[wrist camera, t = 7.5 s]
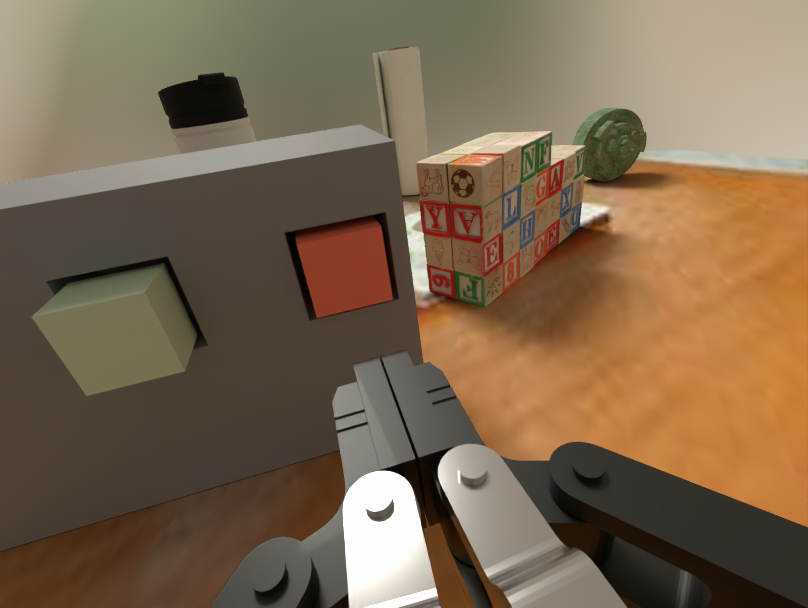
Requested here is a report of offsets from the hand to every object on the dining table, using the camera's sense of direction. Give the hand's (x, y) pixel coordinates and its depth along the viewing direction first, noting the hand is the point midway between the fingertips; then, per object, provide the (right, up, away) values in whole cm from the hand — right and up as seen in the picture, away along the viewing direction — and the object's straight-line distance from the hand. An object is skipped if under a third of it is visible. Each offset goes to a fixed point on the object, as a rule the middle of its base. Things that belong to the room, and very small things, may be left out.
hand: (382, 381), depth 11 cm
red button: (-2, +3, +9) cm, 9 cm away
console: (-10, -6, +15) cm, 19 cm away
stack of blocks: (+12, +7, +32) cm, 35 cm away
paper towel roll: (+2, +22, +59) cm, 63 cm away
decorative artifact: (+32, +21, +50) cm, 63 cm away
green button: (-10, 0, +6) cm, 12 cm away
